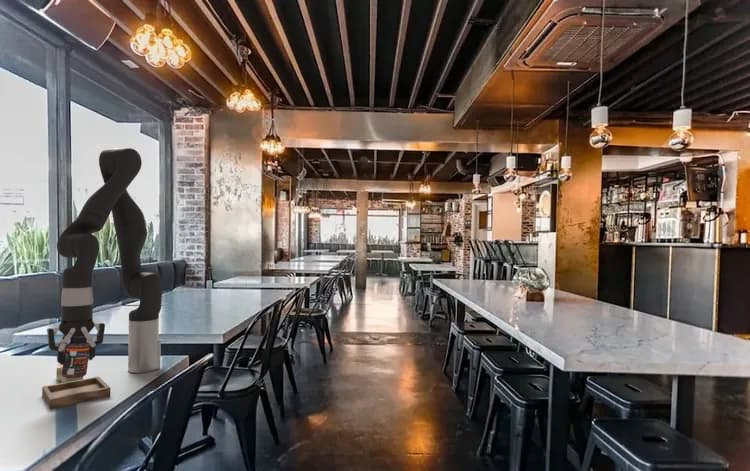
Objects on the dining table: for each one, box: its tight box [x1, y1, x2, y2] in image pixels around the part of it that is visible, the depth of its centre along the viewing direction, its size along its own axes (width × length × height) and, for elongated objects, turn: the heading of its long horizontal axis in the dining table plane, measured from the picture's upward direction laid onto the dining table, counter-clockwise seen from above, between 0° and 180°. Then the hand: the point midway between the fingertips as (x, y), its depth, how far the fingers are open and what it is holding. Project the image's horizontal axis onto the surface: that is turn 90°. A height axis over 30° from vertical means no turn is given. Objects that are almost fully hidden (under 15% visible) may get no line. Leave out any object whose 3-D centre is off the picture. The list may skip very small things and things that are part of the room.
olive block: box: [60, 368, 84, 383], centre depth 139 cm, size 4×4×4 cm
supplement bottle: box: [62, 336, 90, 378], centre depth 127 cm, size 6×6×11 cm
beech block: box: [55, 364, 63, 381], centre depth 144 cm, size 5×4×4 cm
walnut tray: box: [41, 376, 111, 410], centre depth 127 cm, size 14×14×2 cm
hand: (76, 361), depth 127 cm, fingers closed on supplement bottle, 6 cm apart
